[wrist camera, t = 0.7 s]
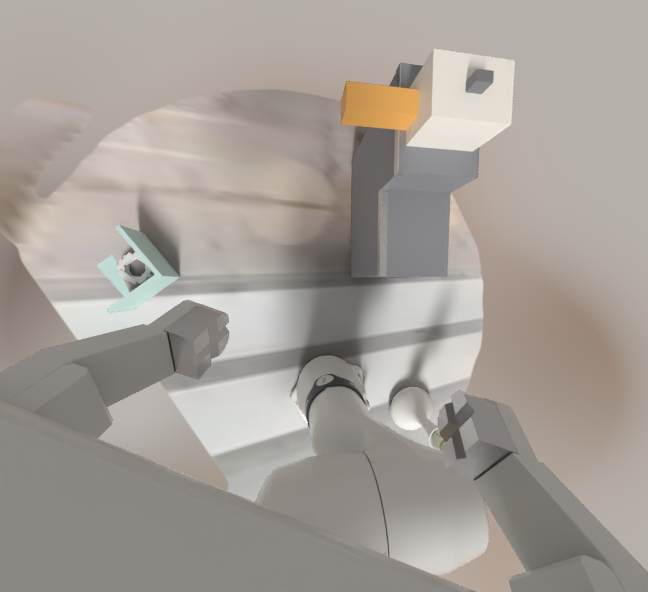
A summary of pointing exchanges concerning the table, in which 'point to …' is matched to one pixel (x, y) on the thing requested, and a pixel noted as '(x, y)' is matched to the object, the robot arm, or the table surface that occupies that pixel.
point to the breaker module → (439, 102)
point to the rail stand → (403, 200)
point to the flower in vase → (415, 413)
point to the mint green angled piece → (152, 279)
